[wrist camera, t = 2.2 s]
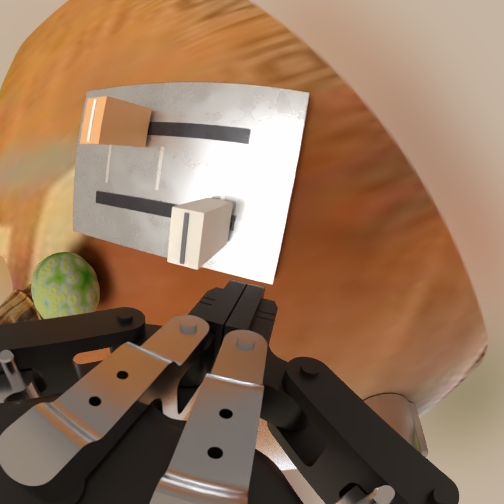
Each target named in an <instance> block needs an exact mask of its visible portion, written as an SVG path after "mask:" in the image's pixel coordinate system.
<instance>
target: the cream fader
mask: <svg viewBox="0 0 504 504" xmlns="http://www.w3.org/2000/svg"><path fill="white" fill-rule="evenodd" d="M232 209H233V202H231V201H226V200H220V199H215V198H209V197H208V198H204V199H200V200H196V201H192V202H188V203H184V204H181V205H177V206H173V207H172V213H171V223H170V234H169V246H168V260H167V262H170V263H174V264H177V265H181V266H185V267H189V268H192V269H196V270H198V269H199V268H200V267H202V266H203V265H204V264H205V263H206V262H207V261H208V260H210V259H211V258H212V257H213V256H214V255H215V254H217V253H218V252H219V251H220V250H221V249H222V248H224V247H225V246H226V245H227V241H228V234H229V228H230V221H231V215H232Z"/></svg>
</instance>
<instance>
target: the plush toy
mask: <svg viewBox="0 0 504 504" xmlns="http://www.w3.org/2000/svg"><path fill="white" fill-rule="evenodd" d="M42 319H43V318H42V316H41V315H40V313H39V312H38V310H37V309H36V307H35V305H34V301H33V299H32V293H31V284H30V285H28V286H27V287H25V288H23V289H22V290H21V289H16V290H14V291H13V292H12V293H11V294H10V295H9V296H8V297H7V299H6V300H5V301H4V302H3V303H2V305H1V306H0V325H1V324H10V323H18V322H26V321H34V320H42Z"/></svg>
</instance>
